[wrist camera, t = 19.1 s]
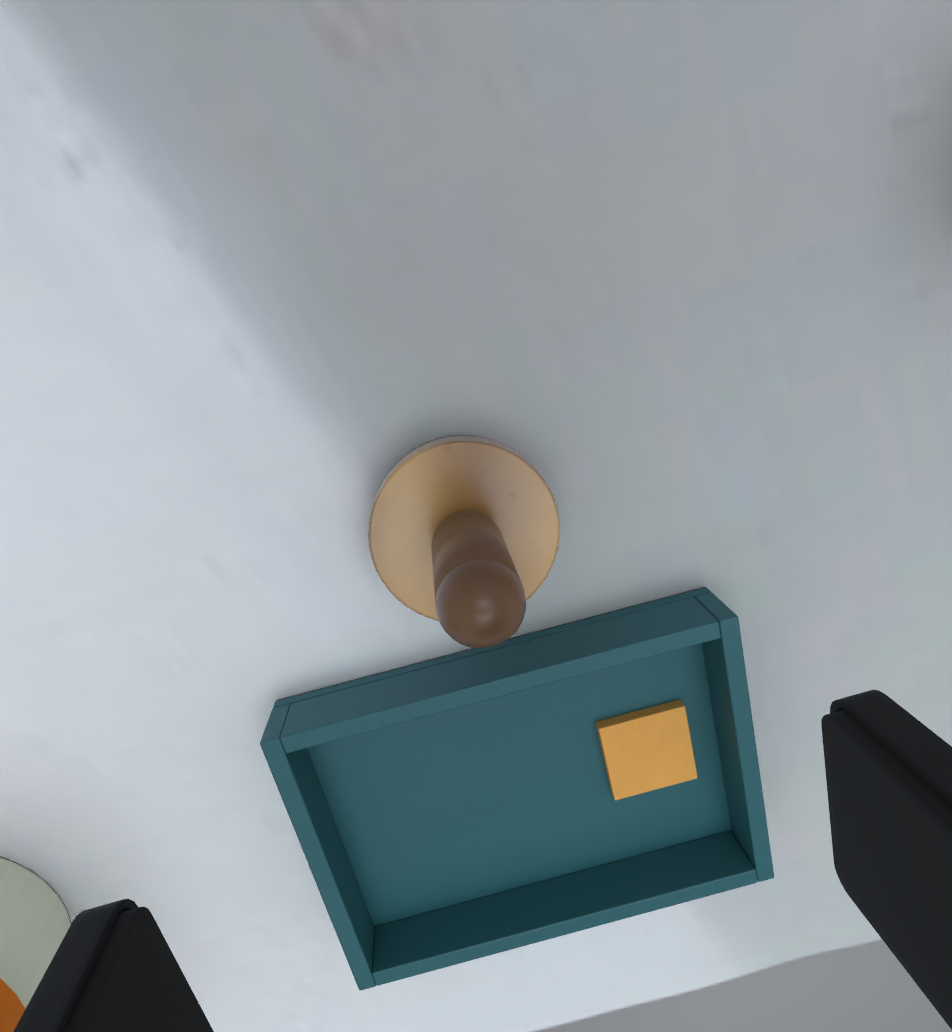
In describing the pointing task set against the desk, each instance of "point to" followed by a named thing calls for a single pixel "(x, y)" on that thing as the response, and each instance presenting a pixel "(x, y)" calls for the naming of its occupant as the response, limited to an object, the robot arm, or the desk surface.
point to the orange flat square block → (647, 749)
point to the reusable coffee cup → (25, 937)
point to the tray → (520, 788)
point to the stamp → (464, 536)
